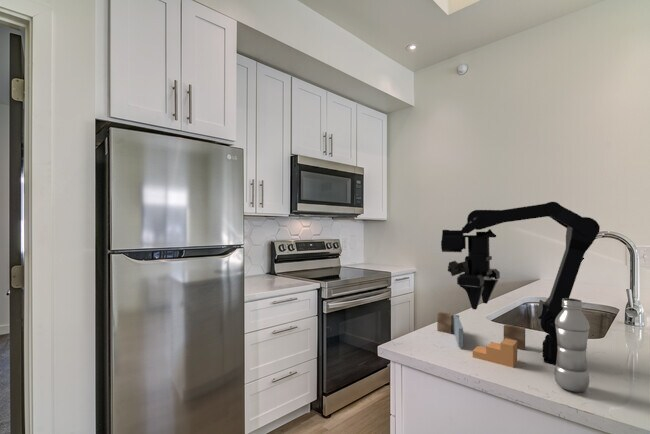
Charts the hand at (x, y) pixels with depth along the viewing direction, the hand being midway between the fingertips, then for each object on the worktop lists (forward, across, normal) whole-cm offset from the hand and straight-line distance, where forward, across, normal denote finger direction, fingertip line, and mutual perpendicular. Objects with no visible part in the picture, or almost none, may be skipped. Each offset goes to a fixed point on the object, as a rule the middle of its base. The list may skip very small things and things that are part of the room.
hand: (479, 306), depth 101 cm
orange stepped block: (+13, +5, +5) cm, 15 cm away
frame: (+13, -9, -4) cm, 16 cm away
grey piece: (+12, -3, -8) cm, 15 cm away
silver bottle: (+13, +10, +23) cm, 28 cm away
